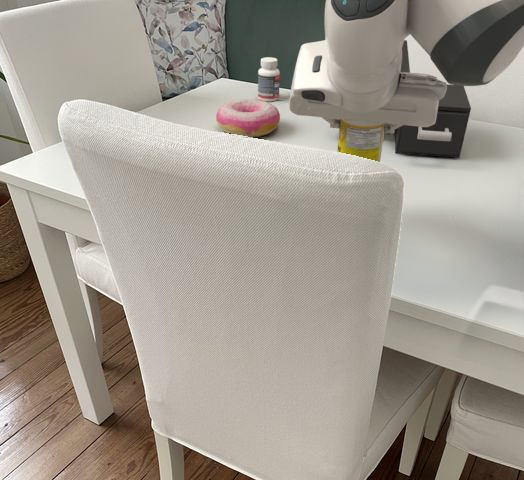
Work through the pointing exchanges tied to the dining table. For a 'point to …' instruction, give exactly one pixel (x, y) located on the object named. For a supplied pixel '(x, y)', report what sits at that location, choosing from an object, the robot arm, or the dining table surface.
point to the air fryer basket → (435, 135)
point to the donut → (248, 117)
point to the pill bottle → (268, 80)
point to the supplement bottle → (361, 138)
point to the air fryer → (450, 102)
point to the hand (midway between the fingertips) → (362, 126)
